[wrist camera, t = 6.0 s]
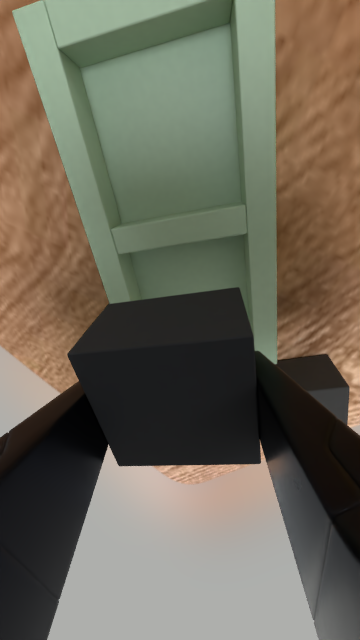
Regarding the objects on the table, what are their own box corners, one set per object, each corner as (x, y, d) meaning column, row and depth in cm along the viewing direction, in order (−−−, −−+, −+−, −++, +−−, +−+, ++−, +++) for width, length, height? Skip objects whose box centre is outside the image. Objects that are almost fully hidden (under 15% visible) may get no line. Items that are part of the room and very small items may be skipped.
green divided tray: (142, 352, 18) (133, 375, 16) (50, 44, 11) (10, 10, 8) (268, 340, 16) (277, 364, 14) (260, -26, 9) (275, -87, 7)
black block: (261, 410, 19) (270, 447, 17) (254, 363, 17) (263, 396, 15) (327, 404, 18) (346, 442, 16) (327, 353, 16) (350, 386, 14)
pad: (140, 398, 11) (118, 466, 8) (107, 303, 9) (65, 354, 6) (247, 391, 10) (261, 464, 8) (239, 286, 8) (254, 335, 6)
